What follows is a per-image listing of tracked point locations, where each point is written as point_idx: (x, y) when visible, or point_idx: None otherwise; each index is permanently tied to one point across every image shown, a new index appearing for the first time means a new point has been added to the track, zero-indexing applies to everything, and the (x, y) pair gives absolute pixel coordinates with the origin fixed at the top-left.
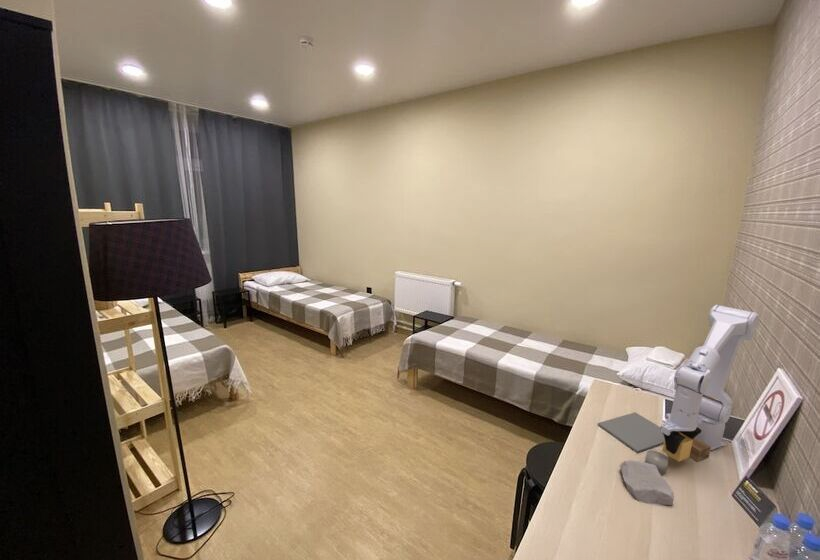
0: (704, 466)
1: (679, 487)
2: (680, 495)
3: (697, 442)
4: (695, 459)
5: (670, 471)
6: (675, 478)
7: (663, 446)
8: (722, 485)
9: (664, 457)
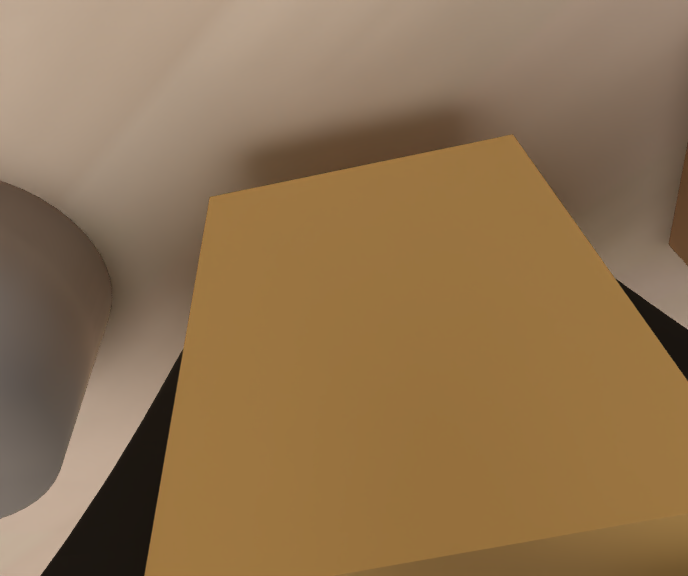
0: (660, 306)
1: (101, 480)
2: (44, 531)
3: None
4: (684, 232)
5: (168, 334)
6: (147, 407)
7: (201, 265)
8: None
9: (21, 450)
